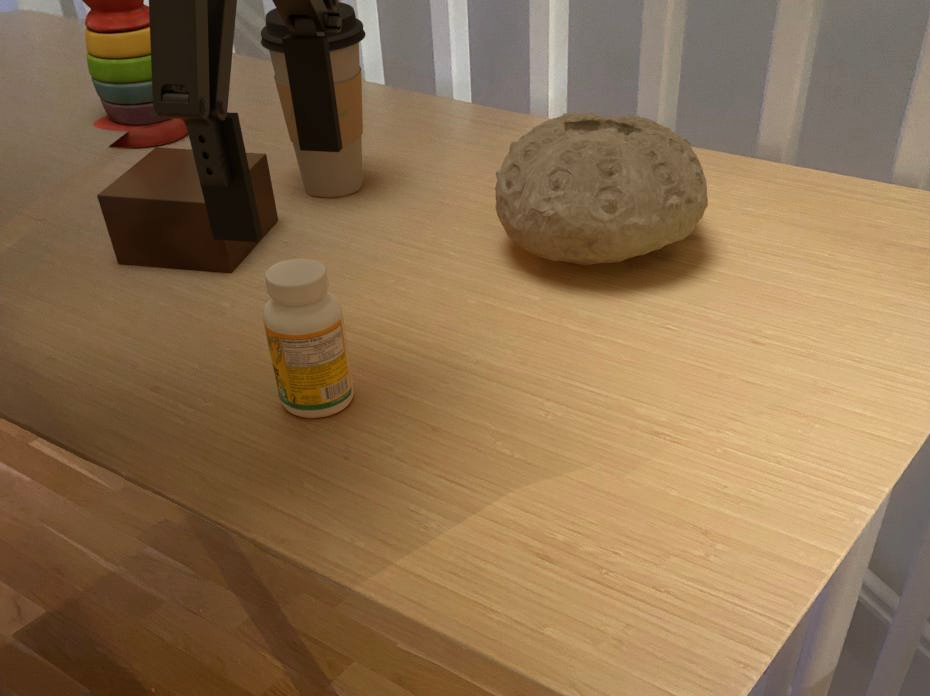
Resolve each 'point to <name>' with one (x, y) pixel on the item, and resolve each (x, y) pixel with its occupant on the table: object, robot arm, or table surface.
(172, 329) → the table surface
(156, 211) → the block
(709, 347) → the table surface
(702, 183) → the decorative shell
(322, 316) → the supplement bottle
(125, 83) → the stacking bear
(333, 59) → the coffee cup
